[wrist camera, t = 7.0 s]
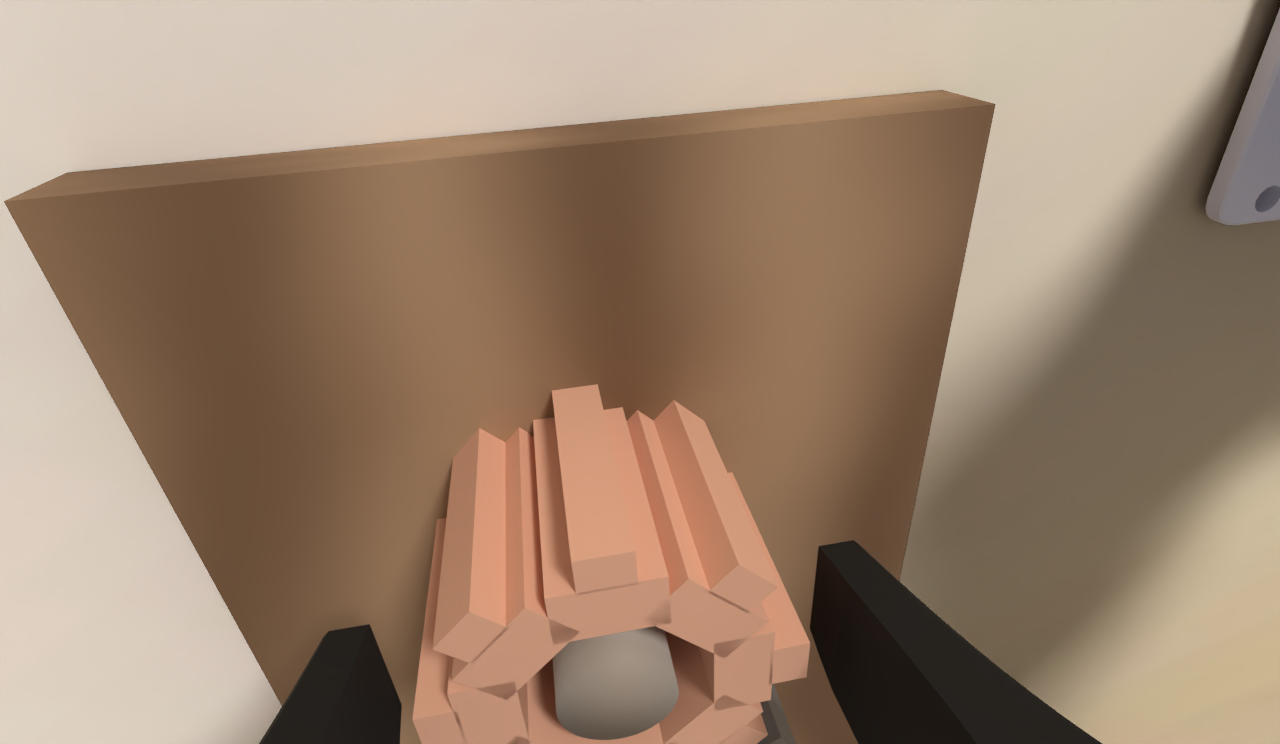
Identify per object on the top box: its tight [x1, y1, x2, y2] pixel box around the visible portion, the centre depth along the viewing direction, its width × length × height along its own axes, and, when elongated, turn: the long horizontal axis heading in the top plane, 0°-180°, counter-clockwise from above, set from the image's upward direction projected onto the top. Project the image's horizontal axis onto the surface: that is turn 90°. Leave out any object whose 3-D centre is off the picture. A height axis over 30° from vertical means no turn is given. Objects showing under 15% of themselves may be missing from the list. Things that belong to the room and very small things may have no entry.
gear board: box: [4, 90, 995, 744], centre depth 14 cm, size 14×22×6 cm, turn 4°
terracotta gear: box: [412, 384, 810, 744], centre depth 11 cm, size 6×6×4 cm
